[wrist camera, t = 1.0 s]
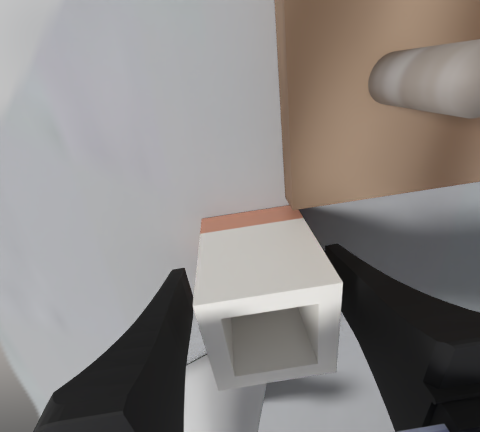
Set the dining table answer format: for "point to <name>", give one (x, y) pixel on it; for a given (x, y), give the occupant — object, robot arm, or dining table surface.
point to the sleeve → (266, 298)
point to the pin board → (344, 114)
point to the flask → (219, 402)
